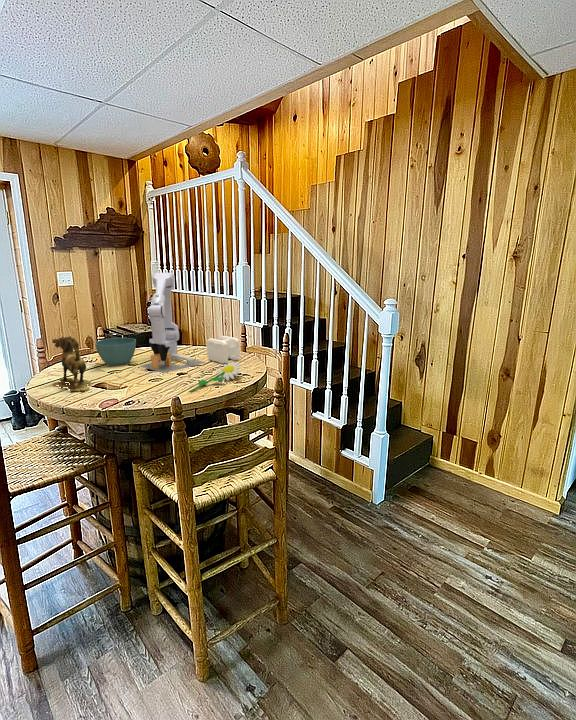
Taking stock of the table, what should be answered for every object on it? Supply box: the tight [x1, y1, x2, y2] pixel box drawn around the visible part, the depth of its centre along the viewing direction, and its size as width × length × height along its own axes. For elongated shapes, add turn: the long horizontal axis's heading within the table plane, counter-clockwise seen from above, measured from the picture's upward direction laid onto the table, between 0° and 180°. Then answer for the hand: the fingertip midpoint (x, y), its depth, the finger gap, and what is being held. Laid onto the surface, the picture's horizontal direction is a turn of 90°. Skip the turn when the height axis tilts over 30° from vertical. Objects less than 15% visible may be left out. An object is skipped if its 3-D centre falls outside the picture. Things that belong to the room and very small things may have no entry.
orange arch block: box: [150, 353, 172, 369], centre depth 191 cm, size 4×8×6 cm, turn 139°
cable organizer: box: [206, 335, 240, 365], centre depth 207 cm, size 15×11×12 cm
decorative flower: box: [188, 361, 242, 393], centre depth 171 cm, size 13×5×30 cm
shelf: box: [140, 353, 207, 374], centre depth 196 cm, size 20×24×5 cm
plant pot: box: [94, 337, 137, 367], centre depth 199 cm, size 18×18×12 cm
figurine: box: [51, 336, 91, 393], centre depth 168 cm, size 13×25×20 cm, turn 42°
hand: (161, 359), depth 191 cm, fingers closed on orange arch block, 4 cm apart
